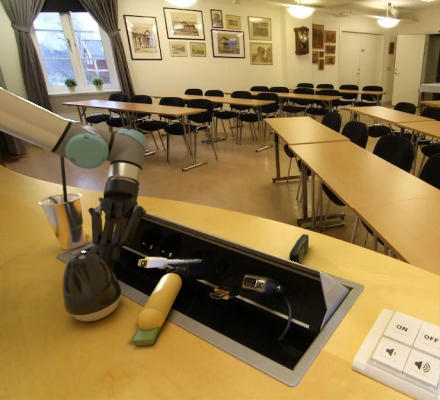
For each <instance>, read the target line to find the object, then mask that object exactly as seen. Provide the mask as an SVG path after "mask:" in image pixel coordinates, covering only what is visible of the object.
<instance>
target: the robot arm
mask: <svg viewBox="0 0 440 400" xmlns="http://www.w3.org/2000/svg"><path fill="white" fill-rule="evenodd" d="M0 131H1V132H3V133H5V134H8V135H10V136H13V137H15V138H17V139H20V140H22V141H25V142H26V143H29V144H32V145H35V146H37V147H40V148H41V149H44V150H46V151H48V152H51V153H53V154H56V155H58V156H59V157H60V156H62V157H64V159H67V160H68V161H69V162H70V163H71V164H72V165H74V166H76V167H78V168H81V169H84V170H92V169H96V168H99V167H102V166H103V165H104V164H105V163H106V162H109V168H108V171H107V174H106V175H107V176H106V182H105V185H104V190H103V198H102V200H101V201H100V203H99V205H98V206H96V207H94V208H93V207H90V208H88V213H89V215H90V218H91V237H92V238H91V240H92V245H96V244H98V245H99V246H100V247H99V253H98V256H100V257H101V258H102V259H103V260H104V261H105V262H106V263H107V265H108V266H109V267H110V268H111V270H112V271H113V272H114V266H115V262H118V260H119V258H120V254H121V249H122V248H123V247H125V246H127V247H128V246H129V245H131V243H132V241H133V238H134V236H135V233H136V231H137V229H138V226H139V224H140V221H141V220H142V218H143V217H144V216H145V215H146V214H147V210H146V209H145V208H144V207H143V206H141V205H139V204H138V198H139V191H140V185H141V181H142V180H141V179H142V173H143V168H144V161H145V156H146V153H147V138H146V136H145V135H144V134H143V133H142V132H140V131H138V130H135V129H132V128H131V129H129V128H122V129H119V130H118V131H117V132H116V133H114V132H110V131H107V130H104V129H100V128H98V127H95V126H92V125H89V124H86V123H83V122H81V121H77V120H73V119H69V118H64V117H62V116H59V115H58V114H56V113H54V112H51V111H50V110H48V109H45V108H43V107H42V106H39V105H37V104H35V103H33V102H31V101H29V100H26V99H25V98H22V97H20V96H18V95H16V94H15V93H13V92H10V91H8V90H6V89H4V88H3V87H0ZM103 213H104V224H103V218H102V216H103ZM130 215H131V216H130ZM129 216H130V217H129Z"/></svg>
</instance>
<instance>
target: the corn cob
mask: <svg viewBox="0 0 440 400" xmlns="http://www.w3.org/2000/svg"><path fill="white" fill-rule="evenodd" d="M182 281H183V280H182V278H181V277H180V275H178V274H177V273H174V272H170V273H167V274H165V275H163V276H161V278H160V280H159V281H158V283H157V285H156V286H155V288H154V290H153V291H152V293H151V294H150V296H149V298H148V299H147V301H146V302H145V305H144V306H143V308H142V309H141V311H140V312H139V315H138V316H137V326H138V327H139V329H138V330H137V332H136V334H135V335H134V337H133V339H132V344H133V346H144V345H145V346H146V345H153V344H154V343H155V341H156V339H157V336H158V335H159V333H160V330H161V329H162V326H163V324H164V323H165V321H166V319H167V316H168V315H169V312H170V310H171V308H172V306H173V305H174V302H175V301H176V298H177V296H178V294H179V292H180V290H181V288H182V284H183V282H182Z"/></svg>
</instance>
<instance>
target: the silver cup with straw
mask: <svg viewBox="0 0 440 400" xmlns="http://www.w3.org/2000/svg"><path fill="white" fill-rule="evenodd" d="M59 160H60V173H61V185H62V193H58V194H54V195H49V196H46V197H43V198H41V199H40V200H38V201H37V204H38V205H40V206H41V208H42V211H43V213H44V214H45V218H46V219H47V221H48V223H49V225H50V227H51V229H52V231H53V234H54V235H55V237H56V240H57V242H58V244H59V246H60V249H62V250H67V251H68V250H74V248H75V249H78V248H80V247H79V246H81V247H82V245H83V246H84V245H86V243H87V239H86V232H85V231H86V230H85V226H84V218H83V211H82V203H81V198H82V194H81V193H77V192H68V190H67V189H68V187H67V176H66V165H65V157H62V156H60V155H59ZM77 247H78V248H77Z"/></svg>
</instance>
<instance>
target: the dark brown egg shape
mask: <svg viewBox="0 0 440 400" xmlns="http://www.w3.org/2000/svg"><path fill="white" fill-rule="evenodd" d="M98 251H100V246H99V245H98V244H96V245H95V244H93V246H92V248H91V249H90V250H81V251H78V252H76V253H74V254H72V256H70V257H69V259H68V260H67V262H66V264H65V267H64V271H63V276H62V300H63V306H64V309H65V311H66V313H68V314H69V315H70V316H71V317H72V318H74V319H75V320H78V321H81V322H95V321H99V320H101V319H103V318H106V317H107V316H109V315H110V314H111V313H112V312H114V311H115V309H117V307H118V305H119V303H120V300H121V295H122V288H121V285H120V282H119V280H118V278H117V276H116V274H115V272H114V270H113V271H112V270H111V268H110V267H109V266H108V265H107V263H106V262H105V261H104V260H103V259H102V258H101V257H100V256H99V254H98Z"/></svg>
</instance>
